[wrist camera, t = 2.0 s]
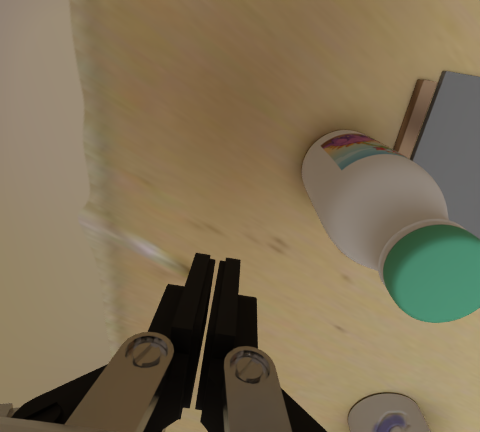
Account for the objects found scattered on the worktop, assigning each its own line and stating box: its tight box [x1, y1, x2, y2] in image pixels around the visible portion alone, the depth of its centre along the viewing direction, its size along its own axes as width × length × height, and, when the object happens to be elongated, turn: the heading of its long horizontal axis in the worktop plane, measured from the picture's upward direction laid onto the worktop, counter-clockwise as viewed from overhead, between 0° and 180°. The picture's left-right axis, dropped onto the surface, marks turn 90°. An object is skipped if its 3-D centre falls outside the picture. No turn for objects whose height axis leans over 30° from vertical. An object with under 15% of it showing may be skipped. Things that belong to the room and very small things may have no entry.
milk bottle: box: [302, 130, 480, 323], centre depth 24 cm, size 8×8×20 cm
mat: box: [410, 71, 480, 239], centre depth 33 cm, size 20×14×1 cm
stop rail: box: [393, 80, 437, 159], centre depth 32 cm, size 18×1×1 cm, turn 171°
